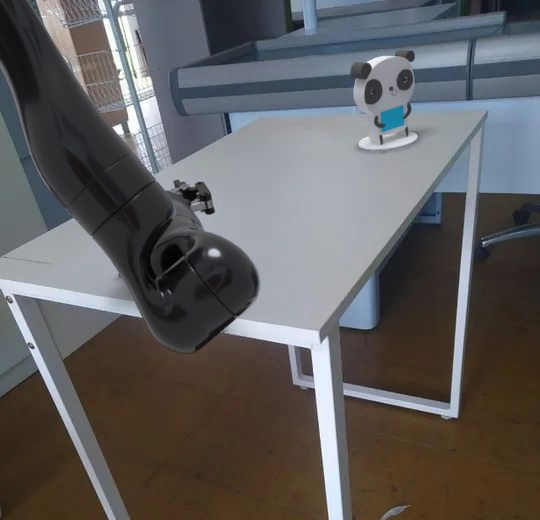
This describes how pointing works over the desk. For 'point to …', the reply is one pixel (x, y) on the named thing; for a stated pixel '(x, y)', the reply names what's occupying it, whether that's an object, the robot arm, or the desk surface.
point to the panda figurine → (385, 99)
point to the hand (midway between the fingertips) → (146, 195)
